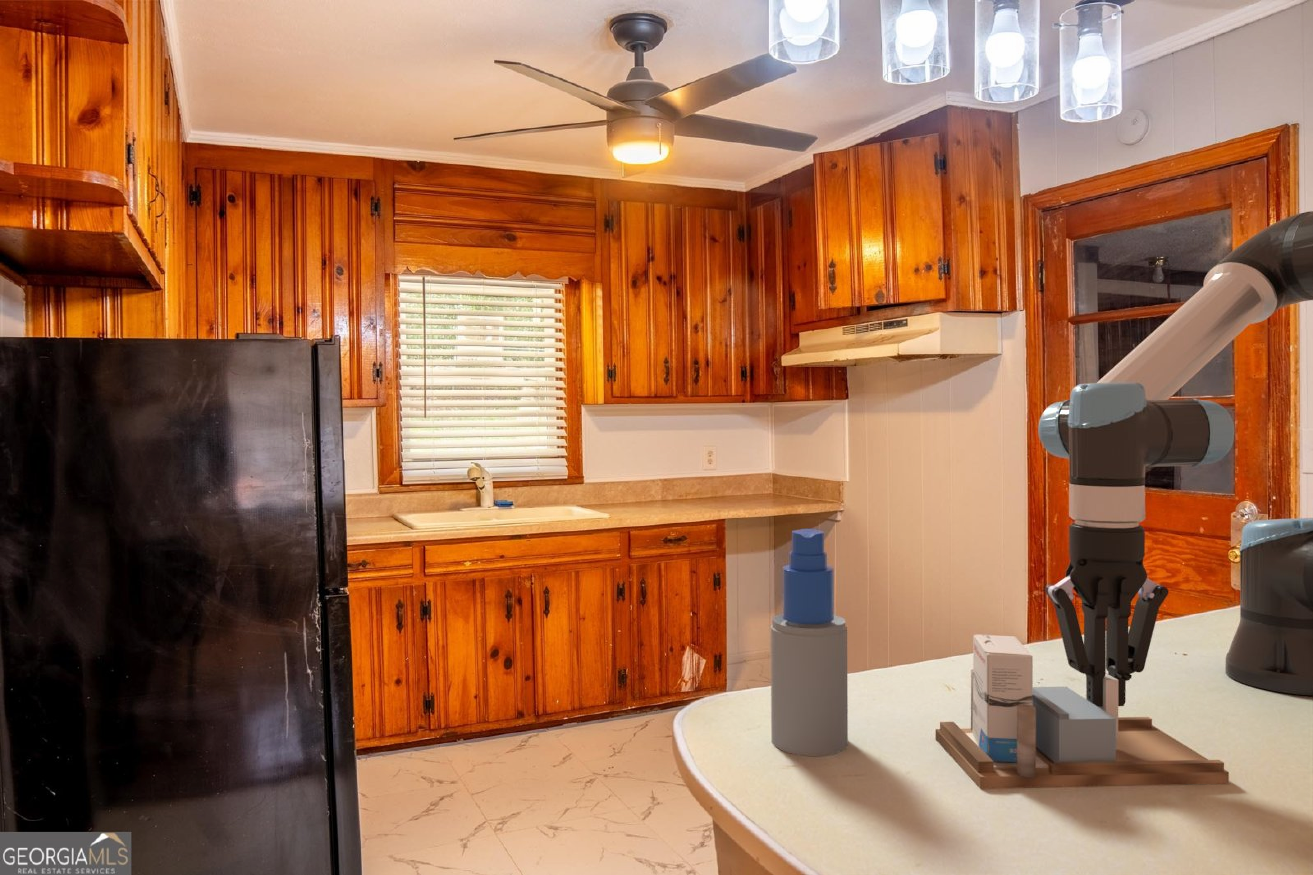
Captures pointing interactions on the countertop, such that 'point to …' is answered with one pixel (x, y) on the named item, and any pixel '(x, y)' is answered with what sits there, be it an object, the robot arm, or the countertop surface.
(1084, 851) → the countertop surface
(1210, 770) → the tray
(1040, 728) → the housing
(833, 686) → the spray bottle
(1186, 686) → the countertop surface
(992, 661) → the ink box
